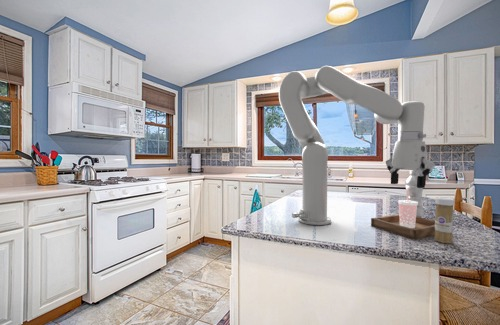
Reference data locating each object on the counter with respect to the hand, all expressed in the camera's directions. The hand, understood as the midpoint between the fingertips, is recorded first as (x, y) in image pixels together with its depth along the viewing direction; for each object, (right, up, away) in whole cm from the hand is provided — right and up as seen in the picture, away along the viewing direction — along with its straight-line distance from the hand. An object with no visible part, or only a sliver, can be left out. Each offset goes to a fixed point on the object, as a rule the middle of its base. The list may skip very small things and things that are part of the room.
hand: (406, 185), depth 90 cm
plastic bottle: (+13, -15, +17) cm, 26 cm away
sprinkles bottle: (+4, -16, -12) cm, 21 cm away
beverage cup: (0, -15, 0) cm, 15 cm away
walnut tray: (+1, -16, 0) cm, 16 cm away
